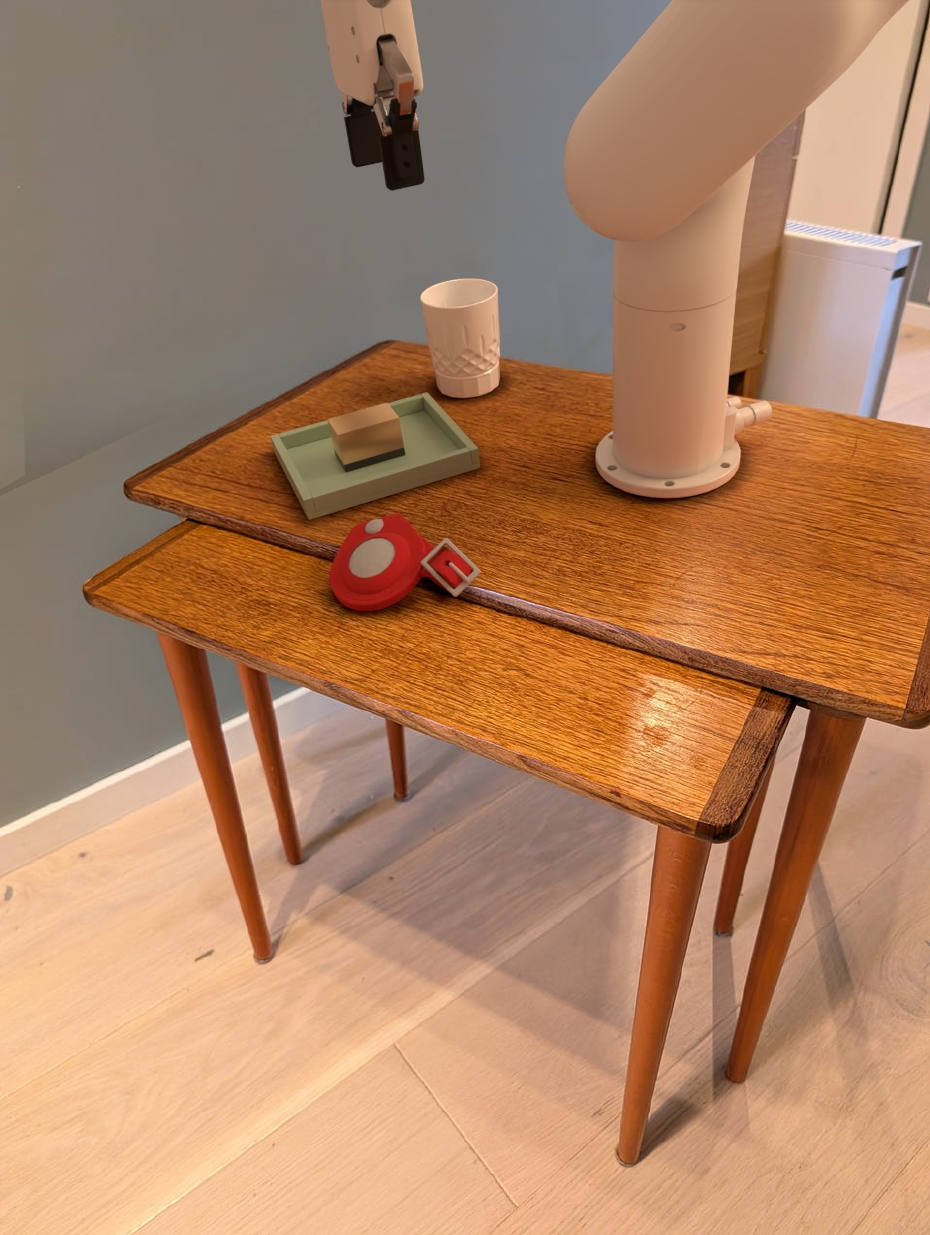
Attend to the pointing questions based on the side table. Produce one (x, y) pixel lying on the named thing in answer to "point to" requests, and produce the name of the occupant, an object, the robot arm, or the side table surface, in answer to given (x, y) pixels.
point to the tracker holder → (393, 564)
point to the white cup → (463, 335)
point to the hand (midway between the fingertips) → (387, 174)
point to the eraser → (366, 437)
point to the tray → (427, 459)
